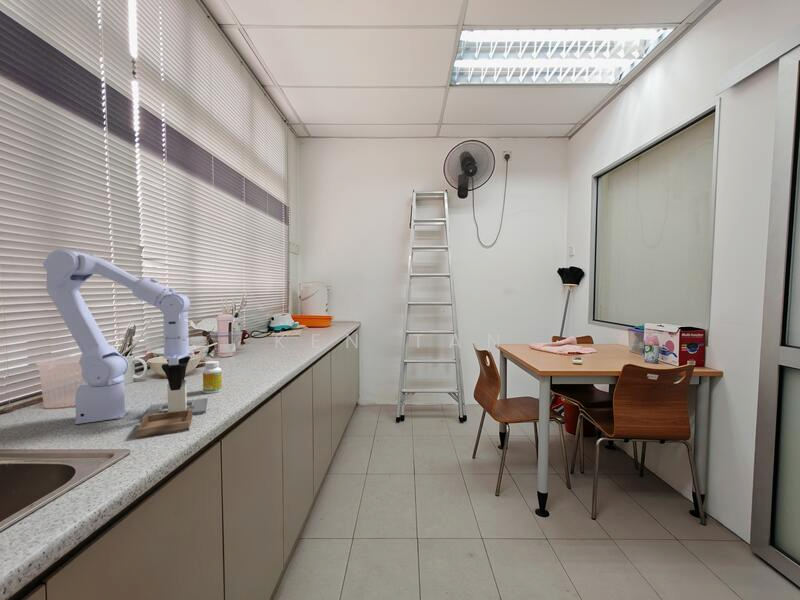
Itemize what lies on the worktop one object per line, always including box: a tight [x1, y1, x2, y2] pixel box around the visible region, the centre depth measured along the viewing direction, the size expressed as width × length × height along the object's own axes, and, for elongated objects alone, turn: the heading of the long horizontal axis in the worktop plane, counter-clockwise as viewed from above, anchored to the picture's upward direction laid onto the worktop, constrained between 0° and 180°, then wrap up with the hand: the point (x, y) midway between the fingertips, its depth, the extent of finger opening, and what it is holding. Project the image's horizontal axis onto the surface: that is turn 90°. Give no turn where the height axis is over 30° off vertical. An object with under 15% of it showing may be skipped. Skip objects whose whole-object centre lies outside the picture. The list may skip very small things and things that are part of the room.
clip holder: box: [141, 397, 209, 421], centre depth 95 cm, size 14×12×2 cm
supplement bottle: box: [202, 360, 223, 394], centre depth 113 cm, size 5×5×10 cm
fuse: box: [166, 379, 188, 412], centre depth 95 cm, size 4×4×8 cm
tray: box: [136, 408, 193, 439], centre depth 83 cm, size 10×10×2 cm
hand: (177, 386), depth 94 cm, fingers open, 7 cm apart
